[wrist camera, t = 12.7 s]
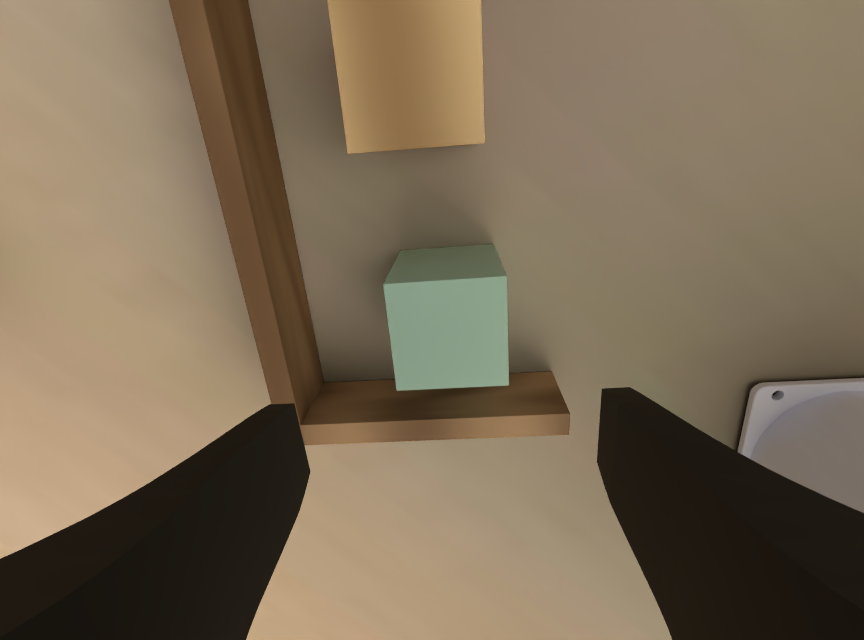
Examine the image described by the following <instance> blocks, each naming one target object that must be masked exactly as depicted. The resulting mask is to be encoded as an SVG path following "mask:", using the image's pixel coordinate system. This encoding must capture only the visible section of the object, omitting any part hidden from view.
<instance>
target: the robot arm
mask: <svg viewBox="0 0 864 640" xmlns="http://www.w3.org/2000/svg"><path fill="white" fill-rule="evenodd" d="M775 391H778V392H777V393H776V394H775V395H773V396H772V394H773V393H774V392H775ZM597 463H598V466H599V470H600V473H601V476H602V479H603V483H604V486H605V489H606V492H607V495H608V498H609V500H610V503H611V505H612V508H613V510H614V512H615V514H616V516H617V518H618V521H619V523H620V525H621V527H622V529H623V531H624V534H625V536H626V538H627V540H628V542H629V544H630V546H631V548H632V550H633V553H634V555H635V557H636V559H637V561H638V563H639V565H640V567H641V569H642V571H643V574H644V576H645V578H646V580H647V582H648V584H649V586H650V588H651V590H652V593H653V595H654V597H655V599H656V601H657V603H658V606H659V608H660V610H661V613H662V615H663V617H664V620H665V622H666V624H667V627H668V629H669V632H670V635H671V637H672V640H864V378H850V379H829V380H808V381H787V382H766V383H759V384H757V385H755V386H754V387H753V388H752V389H751V391H750V395H749V399H748V404H747V409H746V414H745V419H744V423H743V428H742V433H741V438H740V442H739V447H738V452H737V451H735V450H733V449H731V448H729V447H728V446H726V445H724V444H722V443H721V442H719V441H717V440H715V439H714V438H712V437H710V436H709V435H707V434H705V433H704V432H702V431H700V430H699V429H697V428H695V427H694V426H692V425H691V424H689V423H687V422H686V421H684V420H682V419H681V418H679V417H678V416H676V415H674V414H673V413H671V412H670V411H668V410H667V409H665V408H663V407H662V406H660V405H659V404H657V403H655V402H654V401H652V400H651V399H649V398H647V397H646V396H644V395H642V394H641V393H639V392H637V391H635V390H634V389H632V388H630V387H627V388H606V389H602V395H601V410H600V425H599V440H598V455H597ZM309 475H310V468H309V464H308V460H307V455H306V451H305V447H304V442H303V438H302V434H301V429H300V425H299V421H298V416H297V412H296V408H295V403H289V404H270V405H268V406H266V407H264V408H263V409H261V410H259V411H258V412H256V413H255V414H253V415H251V416H250V417H248V418H247V419H245V420H244V421H242V422H241V423H240V424H238V425H237V426H235V427H234V428H232V429H231V430H229V431H228V432H226V433H225V434H223V435H222V436H221V437H219V438H218V439H216V440H215V441H213V442H212V443H210V444H209V445H207V446H206V447H204V448H203V449H201V450H200V451H198V452H197V453H195V454H194V455H192V456H191V457H189V458H188V459H186V460H185V461H183V462H181V463H180V464H178V465H177V466H175V467H174V468H172V469H170V470H169V471H167V472H166V473H164V474H163V475H161V476H159V477H158V478H156V479H155V480H153V481H152V482H150V483H148V484H147V485H145V486H143V487H142V488H140V489H138V490H136V491H135V492H133V493H131V494H129V495H128V496H126V497H124V498H123V499H121V500H119V501H117V502H115V503H113V504H111V505H110V506H108V507H106V508H104V509H102V510H100V511H99V512H97V513H95V514H93V515H91V516H89V517H87V518H85V519H83V520H81V521H79V522H77V523H75V524H73V525H71V526H69V527H67V528H65V529H63V530H61V531H59V532H57V533H54V534H52V535H50V536H48V537H46V538H44V539H42V540H40V541H38V542H36V543H34V544H32V545H30V546H27V547H25V548H23V549H21V550H19V551H17V552H15V553H12V554H10V555H8V556H6V557H3V558H1V559H0V640H246V638H247V635H248V632H249V629H250V627H251V624H252V621H253V619H254V616H255V614H256V611H257V609H258V606H259V604H260V601H261V599H262V597H263V595H264V592H265V590H266V588H267V585H268V583H269V581H270V579H271V576H272V574H273V572H274V569H275V567H276V565H277V562H278V560H279V558H280V556H281V553H282V551H283V549H284V546H285V544H286V542H287V539H288V537H289V535H290V532H291V530H292V528H293V525H294V523H295V521H296V518H297V516H298V513H299V511H300V507H301V504H302V501H303V497H304V494H305V490H306V486H307V483H308V479H309Z"/></svg>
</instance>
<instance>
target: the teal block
mask: <svg viewBox="0 0 864 640" xmlns="http://www.w3.org/2000/svg"><path fill="white" fill-rule="evenodd" d="M383 287H384V295H385V303H386V311H387V319H388V326H389V334H390V342H391V350H392V358H393V366H394V374H395V381H396V389H397V391H401V390H423V389H444V388H465V387H486V386H507V385H509V364H508V313H507V275H506V273H505V271H504V268H503V266H502V263H501V261H500V258H499V256H498V253H497V251H496V248H495V246H494V244H484V245H470V246H456V247H441V248H427V249H413V250H400V252H399V254H398V256H397V258H396V260H395V262H394V264H393V266H392V268H391V270H390V272H389V274H388V276H387V278H386V280H385V281H384V283H383Z"/></svg>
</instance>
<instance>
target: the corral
mask: <svg viewBox="0 0 864 640" xmlns="http://www.w3.org/2000/svg"><path fill="white" fill-rule="evenodd" d="M169 3H170V6H171V10H172V14H173V18H174V22H175V26H176V30H177V34H178V38H179V42H180V46H181V50H182V54H183V58H184V62H185V65H186V69H187V73H188V77H189V81H190V85H191V89H192V93H193V97H194V101H195V105H196V109H197V113H198V117H199V121H200V125H201V128H202V132H203V136H204V140H205V144H206V148H207V152H208V156H209V160H210V164H211V168H212V172H213V176H214V180H215V184H216V187H217V191H218V195H219V199H220V203H221V207H222V211H223V215H224V219H225V223H226V227H227V231H228V235H229V239H230V243H231V246H232V250H233V254H234V258H235V262H236V266H237V270H238V274H239V278H240V282H241V286H242V290H243V294H244V298H245V302H246V305H247V309H248V313H249V317H250V321H251V325H252V329H253V333H254V337H255V341H256V345H257V349H258V353H259V357H260V361H261V364H262V368H263V372H264V376H265V380H266V384H267V388H268V392H269V396H270V400H271V404H289V403H295V408H296V412H297V416H298V421H299V425H300V429H301V434H302V438H303V442H304V445H320V444H345V443H370V442H395V441H420V440H445V439H470V438H495V437H520V436H545V435H569V427H570V412H569V410H568V408H567V405H566V403H565V401H564V398H563V396H562V394H561V392H560V389H559V387H558V385H557V382H556V380H555V378H554V375H553V373H552V371H549V372H530V373H510V374H509V385H507V386H486V387H465V388H444V389H423V390H401V391H397V389H396V381H395V379H392V380H372V381H352V382H332V383H324V381H323V376H322V371H321V366H320V361H319V356H318V351H317V346H316V341H315V336H314V331H313V326H312V321H311V316H310V311H309V306H308V301H307V296H306V291H305V286H304V281H303V276H302V271H301V266H300V261H299V256H298V251H297V246H296V241H295V236H294V231H293V226H292V221H291V216H290V211H289V206H288V201H287V196H286V191H285V186H284V181H283V176H282V171H281V166H280V161H279V156H278V151H277V146H276V140H275V135H274V130H273V125H272V120H271V115H270V110H269V105H268V100H267V95H266V90H265V85H264V80H263V75H262V70H261V65H260V60H259V55H258V50H257V45H256V40H255V35H254V30H253V25H252V20H251V15H250V10H249V5H248V0H169Z"/></svg>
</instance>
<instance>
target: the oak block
mask: <svg viewBox="0 0 864 640" xmlns="http://www.w3.org/2000/svg"><path fill="white" fill-rule="evenodd" d="M327 2H328V10H329V17H330V25H331V32H332V40H333V47H334V55H335V62H336V70H337V77H338V84H339V92H340V99H341V107H342V114H343V122H344V129H345V137H346V144H347V152H348V154H351V153H364V152H376V151H389V150H402V149H415V148H428V147H441V146H454V145H466V144H479V143H485V133H484V95H483V57H482V19H481V0H327Z"/></svg>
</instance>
